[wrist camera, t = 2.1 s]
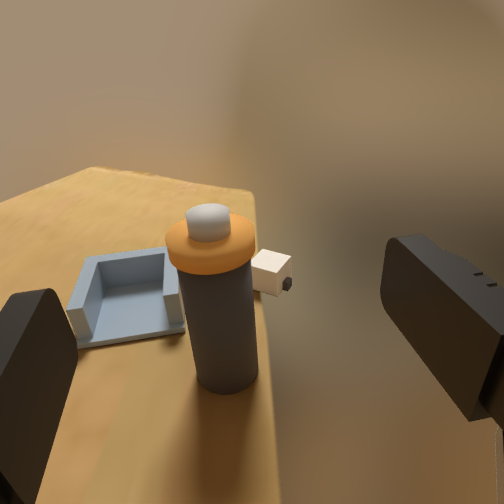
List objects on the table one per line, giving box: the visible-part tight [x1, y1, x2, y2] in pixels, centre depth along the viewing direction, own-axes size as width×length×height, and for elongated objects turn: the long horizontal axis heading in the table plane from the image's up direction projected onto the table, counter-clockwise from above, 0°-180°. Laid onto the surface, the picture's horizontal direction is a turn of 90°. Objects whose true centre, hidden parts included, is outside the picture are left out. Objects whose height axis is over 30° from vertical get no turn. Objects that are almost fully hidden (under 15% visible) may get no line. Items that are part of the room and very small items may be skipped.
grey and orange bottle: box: [165, 203, 258, 394], centre depth 24 cm, size 5×5×12 cm
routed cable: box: [251, 249, 292, 297], centre depth 36 cm, size 15×7×3 cm, turn 60°
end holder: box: [66, 246, 185, 349], centre depth 32 cm, size 8×8×4 cm
